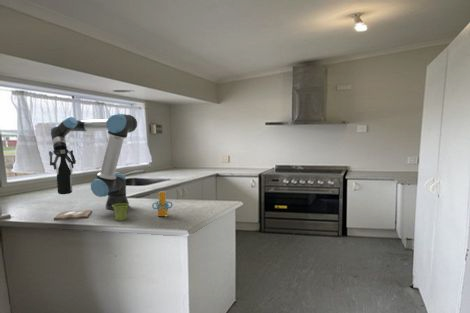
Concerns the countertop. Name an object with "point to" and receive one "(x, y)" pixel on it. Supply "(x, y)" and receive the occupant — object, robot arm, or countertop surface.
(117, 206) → the plant pot
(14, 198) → the countertop surface
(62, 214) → the board
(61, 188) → the wine bottle
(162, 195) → the orange block with loops
